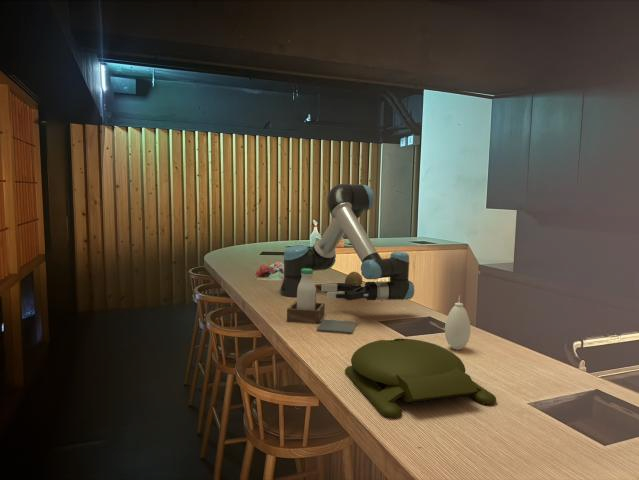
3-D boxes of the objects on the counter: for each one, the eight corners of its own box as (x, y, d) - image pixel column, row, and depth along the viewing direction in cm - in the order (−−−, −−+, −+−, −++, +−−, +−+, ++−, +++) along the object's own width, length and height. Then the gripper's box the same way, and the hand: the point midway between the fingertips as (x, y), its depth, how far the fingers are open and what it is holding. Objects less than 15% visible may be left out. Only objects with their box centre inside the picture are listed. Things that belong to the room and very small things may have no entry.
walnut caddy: (294, 313, 191) (295, 301, 190) (324, 315, 188) (324, 303, 188) (286, 321, 179) (287, 308, 178) (318, 323, 176) (318, 311, 176)
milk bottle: (313, 321, 179) (314, 271, 177) (294, 320, 180) (295, 270, 178) (317, 316, 186) (318, 268, 184) (299, 315, 188) (299, 267, 186)
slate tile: (323, 321, 180) (323, 319, 179) (356, 324, 177) (356, 322, 177) (316, 331, 167) (316, 329, 167) (352, 334, 164) (352, 332, 164)
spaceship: (500, 406, 112) (503, 367, 111) (385, 422, 103) (386, 380, 102) (427, 356, 145) (429, 326, 144) (335, 365, 136) (336, 333, 135)
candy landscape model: (255, 273, 280) (255, 258, 279) (293, 273, 283) (294, 258, 282) (254, 281, 255) (254, 265, 254) (296, 281, 258) (296, 265, 257)
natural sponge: (362, 293, 231) (363, 273, 229) (345, 292, 231) (345, 273, 230) (361, 289, 240) (362, 270, 238) (344, 288, 240) (345, 269, 239)
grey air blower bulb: (439, 346, 153) (441, 293, 151) (458, 343, 156) (460, 292, 154) (454, 354, 146) (457, 299, 144) (474, 351, 149) (477, 297, 147)
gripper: (384, 307, 174) (329, 308, 171) (367, 292, 199) (319, 293, 196) (385, 288, 174) (329, 289, 170) (368, 275, 198) (319, 276, 195)
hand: (324, 291), depth 183 cm, fingers open, 13 cm apart
